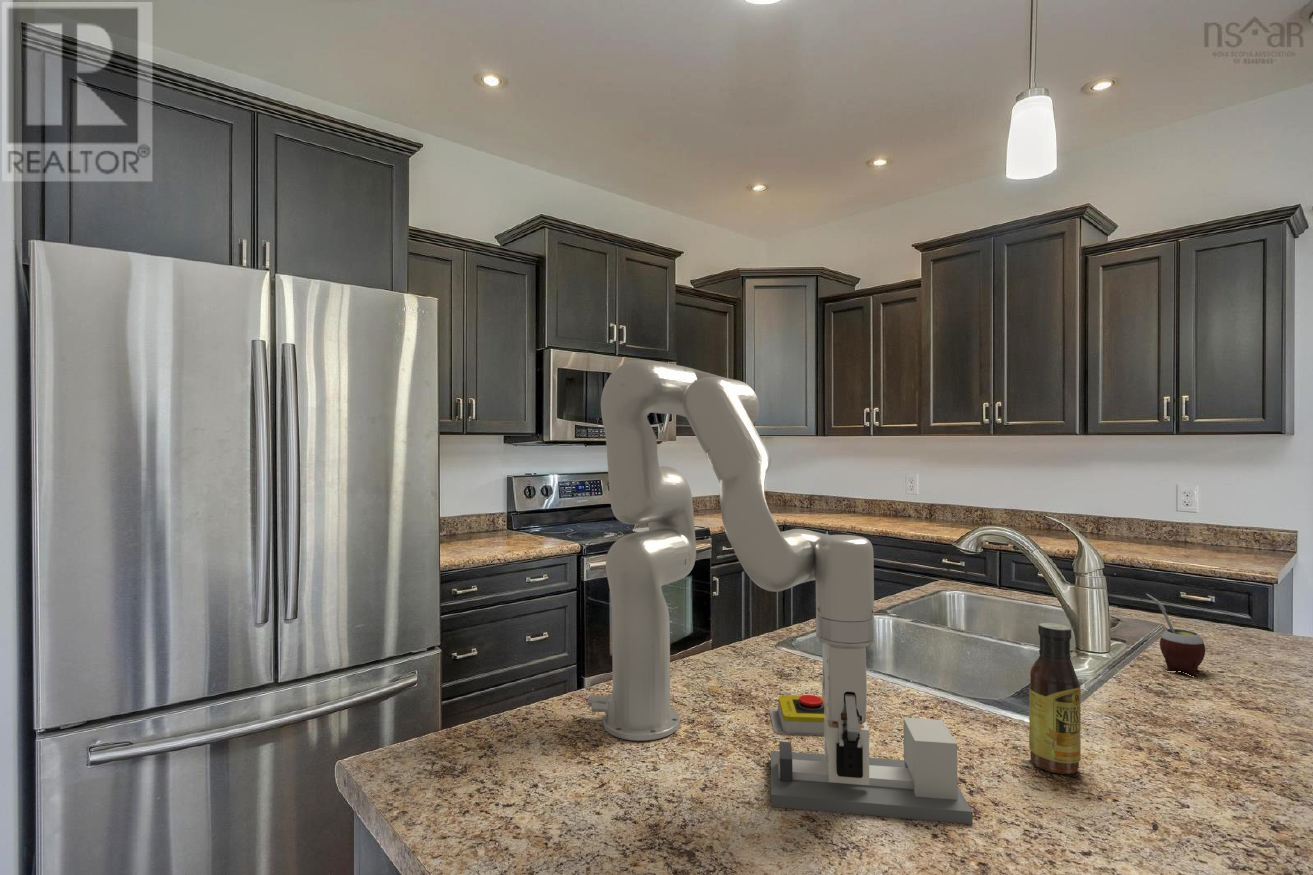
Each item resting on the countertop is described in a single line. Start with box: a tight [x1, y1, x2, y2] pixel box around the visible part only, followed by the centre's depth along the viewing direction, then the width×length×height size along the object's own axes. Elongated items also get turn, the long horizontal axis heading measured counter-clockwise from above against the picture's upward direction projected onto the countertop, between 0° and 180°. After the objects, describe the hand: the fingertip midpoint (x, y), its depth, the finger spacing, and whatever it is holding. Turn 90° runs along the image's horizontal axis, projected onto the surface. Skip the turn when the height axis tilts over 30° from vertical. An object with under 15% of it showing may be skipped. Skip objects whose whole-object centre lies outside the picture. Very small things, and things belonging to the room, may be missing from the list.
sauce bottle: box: [1028, 622, 1082, 775], centre depth 92 cm, size 6×6×20 cm
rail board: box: [770, 717, 974, 825], centre depth 86 cm, size 24×12×8 cm, turn 80°
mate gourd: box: [1145, 593, 1206, 678], centre depth 129 cm, size 8×8×15 cm
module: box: [823, 710, 870, 785], centre depth 86 cm, size 5×7×7 cm
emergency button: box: [769, 694, 824, 736], centre depth 107 cm, size 9×4×15 cm
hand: (846, 760), depth 86 cm, fingers closed on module, 7 cm apart
